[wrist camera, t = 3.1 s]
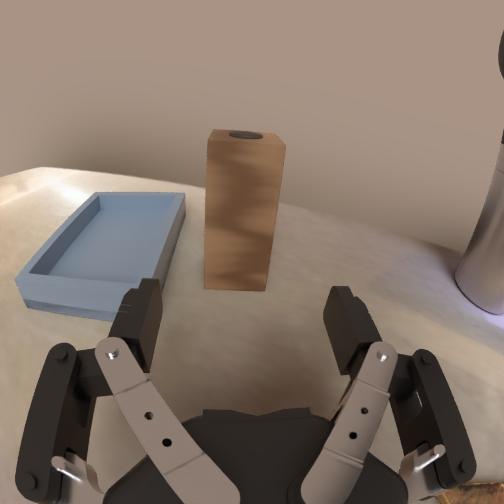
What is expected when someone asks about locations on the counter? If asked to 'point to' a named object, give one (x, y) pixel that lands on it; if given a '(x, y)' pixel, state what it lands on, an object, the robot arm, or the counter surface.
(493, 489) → the shard
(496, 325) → the counter surface
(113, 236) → the slate tray
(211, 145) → the walnut block
